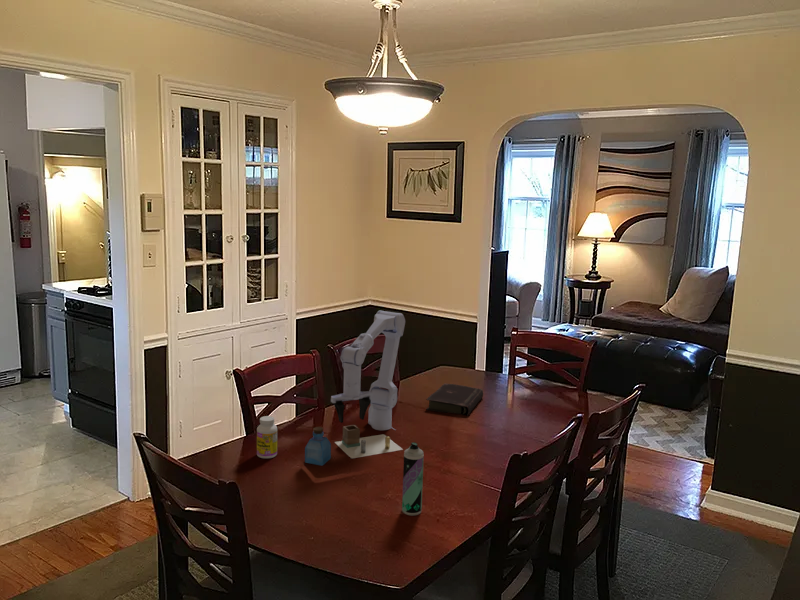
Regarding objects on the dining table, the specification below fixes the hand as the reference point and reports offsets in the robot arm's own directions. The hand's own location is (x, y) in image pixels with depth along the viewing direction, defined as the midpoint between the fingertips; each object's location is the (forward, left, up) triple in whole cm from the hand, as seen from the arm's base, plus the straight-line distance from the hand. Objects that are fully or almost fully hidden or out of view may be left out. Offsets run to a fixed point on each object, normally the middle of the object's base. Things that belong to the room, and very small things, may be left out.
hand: (351, 420), depth 231 cm
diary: (-26, +58, -11) cm, 64 cm away
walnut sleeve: (0, 0, -9) cm, 9 cm away
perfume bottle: (+8, -15, -10) cm, 20 cm away
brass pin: (+8, +10, -9) cm, 15 cm away
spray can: (+48, -2, -10) cm, 49 cm away
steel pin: (+8, +1, -9) cm, 12 cm away
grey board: (+4, +5, -10) cm, 12 cm away
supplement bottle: (-5, -28, -10) cm, 30 cm away
